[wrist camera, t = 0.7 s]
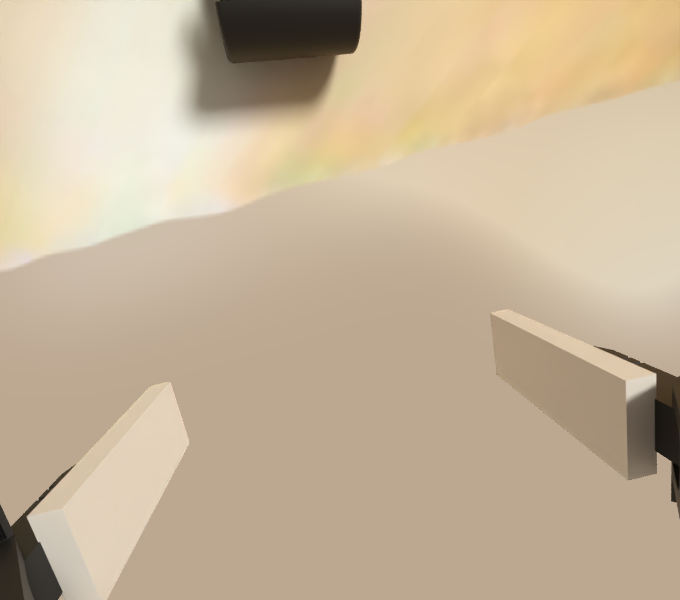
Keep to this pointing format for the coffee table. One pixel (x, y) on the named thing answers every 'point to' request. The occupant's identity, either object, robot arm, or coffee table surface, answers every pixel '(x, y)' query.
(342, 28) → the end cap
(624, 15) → the coffee table surface
